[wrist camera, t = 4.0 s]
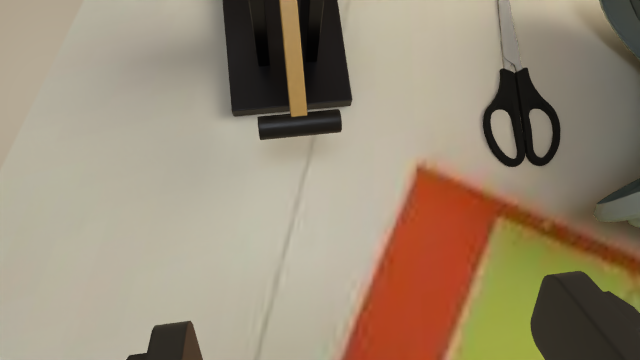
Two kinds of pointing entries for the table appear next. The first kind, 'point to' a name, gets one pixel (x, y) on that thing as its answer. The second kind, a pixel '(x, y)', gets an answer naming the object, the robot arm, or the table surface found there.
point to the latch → (296, 89)
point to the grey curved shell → (636, 33)
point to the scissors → (517, 99)
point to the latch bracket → (269, 61)
